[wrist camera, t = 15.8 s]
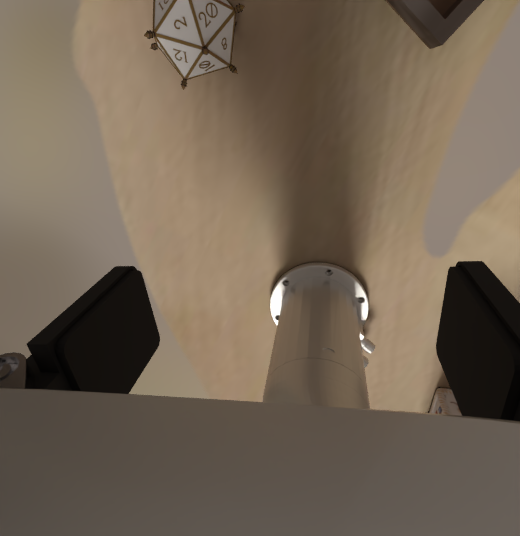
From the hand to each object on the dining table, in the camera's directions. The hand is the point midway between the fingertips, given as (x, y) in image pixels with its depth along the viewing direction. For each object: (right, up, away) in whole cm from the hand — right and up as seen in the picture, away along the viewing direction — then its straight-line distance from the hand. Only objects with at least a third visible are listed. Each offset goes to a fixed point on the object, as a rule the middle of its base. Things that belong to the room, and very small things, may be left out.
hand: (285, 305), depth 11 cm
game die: (-6, +24, +23) cm, 34 cm away
